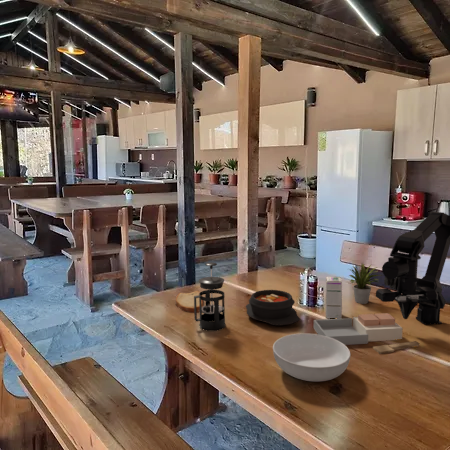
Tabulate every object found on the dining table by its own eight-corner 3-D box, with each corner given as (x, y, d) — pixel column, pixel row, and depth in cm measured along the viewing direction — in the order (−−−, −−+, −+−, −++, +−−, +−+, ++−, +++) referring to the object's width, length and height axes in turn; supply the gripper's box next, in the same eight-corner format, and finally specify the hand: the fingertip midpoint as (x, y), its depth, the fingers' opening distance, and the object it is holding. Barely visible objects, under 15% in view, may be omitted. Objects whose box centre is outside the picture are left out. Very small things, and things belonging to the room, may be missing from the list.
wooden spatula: (413, 342, 132) (413, 339, 132) (421, 347, 129) (421, 344, 128) (372, 348, 128) (372, 345, 128) (379, 353, 125) (380, 350, 125)
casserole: (312, 324, 148) (312, 301, 147) (266, 334, 140) (266, 310, 139) (275, 303, 170) (275, 283, 169) (234, 310, 163) (234, 289, 162)
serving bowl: (336, 401, 101) (337, 374, 100) (259, 378, 112) (259, 354, 111) (358, 365, 118) (359, 342, 117) (290, 348, 129) (290, 327, 128)
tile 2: (387, 318, 141) (388, 313, 141) (395, 324, 136) (395, 318, 136) (373, 319, 141) (373, 313, 141) (380, 325, 136) (380, 319, 136)
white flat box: (386, 326, 145) (386, 315, 144) (401, 339, 134) (402, 328, 134) (352, 327, 144) (353, 316, 144) (366, 341, 133) (366, 329, 133)
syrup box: (341, 319, 152) (343, 281, 150) (325, 318, 153) (326, 280, 151) (340, 313, 157) (341, 276, 155) (324, 312, 159) (325, 276, 156)
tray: (351, 326, 146) (351, 318, 145) (367, 343, 132) (368, 334, 131) (313, 328, 145) (313, 319, 144) (326, 345, 131) (326, 336, 130)
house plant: (361, 311, 160) (363, 270, 157) (335, 300, 172) (336, 262, 169) (386, 304, 167) (388, 264, 164) (359, 294, 179) (360, 257, 176)
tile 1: (372, 319, 141) (372, 313, 141) (378, 325, 136) (379, 319, 136) (358, 320, 141) (358, 314, 140) (364, 326, 136) (364, 320, 135)
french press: (221, 318, 154) (220, 258, 151) (231, 328, 146) (230, 264, 142) (191, 324, 150) (189, 262, 146) (199, 333, 141) (198, 268, 138)
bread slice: (197, 314, 160) (197, 305, 159) (161, 306, 169) (161, 298, 168) (222, 301, 175) (222, 292, 174) (187, 294, 184) (187, 286, 183)
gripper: (421, 266, 145) (418, 308, 148) (369, 268, 144) (367, 311, 146) (440, 275, 134) (436, 320, 137) (384, 277, 133) (382, 323, 135)
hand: (404, 318), depth 139 cm, fingers closed
